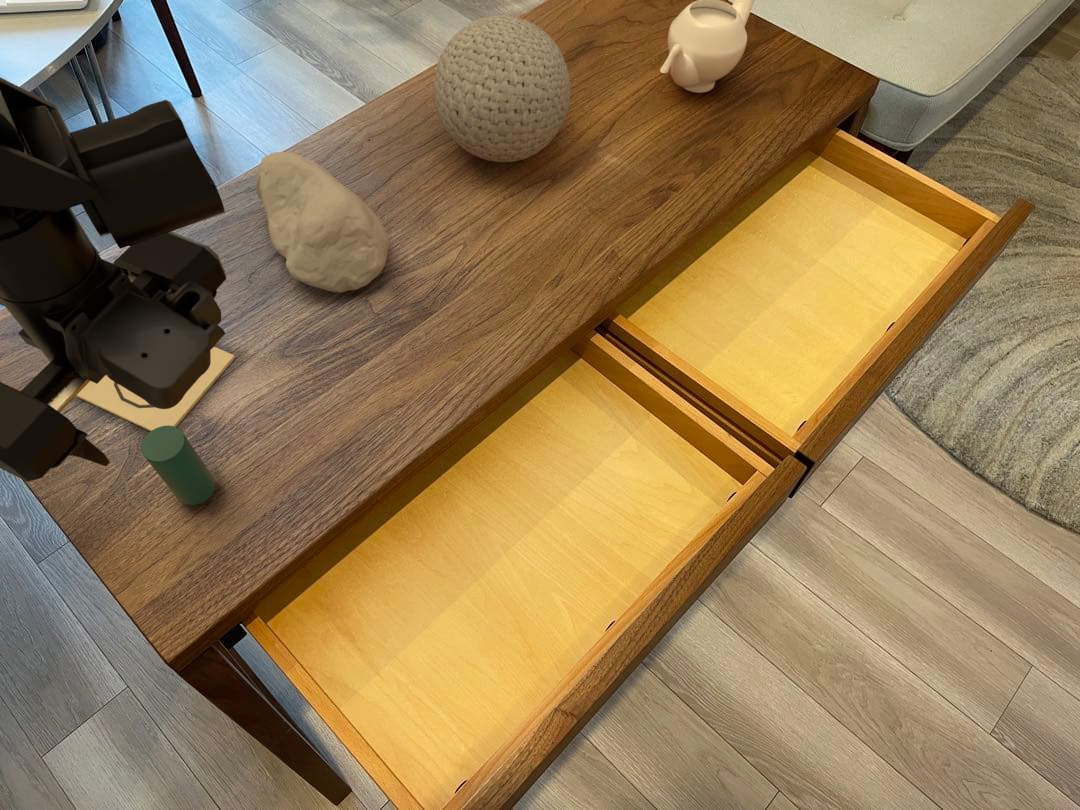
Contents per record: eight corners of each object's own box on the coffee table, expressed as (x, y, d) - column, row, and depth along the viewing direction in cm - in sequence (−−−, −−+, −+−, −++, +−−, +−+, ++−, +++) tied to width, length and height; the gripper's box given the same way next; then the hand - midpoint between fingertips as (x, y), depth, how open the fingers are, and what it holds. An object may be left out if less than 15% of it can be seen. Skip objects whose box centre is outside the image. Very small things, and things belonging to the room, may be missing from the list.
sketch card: (77, 397, 71) (75, 394, 71) (151, 320, 76) (149, 317, 76) (166, 438, 69) (164, 436, 69) (235, 357, 74) (234, 354, 74)
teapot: (621, 101, 98) (631, 31, 90) (708, 33, 106) (724, -36, 99) (684, 135, 95) (701, 66, 87) (768, 62, 103) (790, -7, 96)
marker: (172, 500, 66) (131, 451, 59) (196, 470, 68) (159, 419, 61) (202, 516, 65) (165, 467, 58) (226, 485, 67) (193, 434, 60)
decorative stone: (418, 249, 79) (351, 206, 70) (357, 323, 81) (284, 289, 72) (340, 164, 87) (272, 116, 79) (286, 232, 89) (214, 192, 81)
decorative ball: (579, 120, 95) (590, 0, 83) (548, 202, 87) (554, 83, 75) (462, 96, 97) (455, -25, 84) (421, 175, 89) (406, 54, 76)
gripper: (29, 447, 38) (150, 566, 51) (260, 208, 47) (312, 360, 60) (-140, 365, 40) (18, 499, 53) (113, 151, 50) (194, 310, 63)
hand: (147, 412), depth 57 cm, fingers open, 9 cm apart
